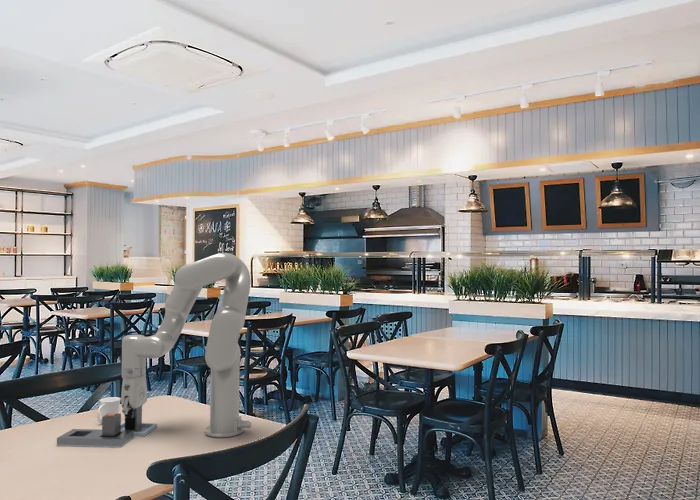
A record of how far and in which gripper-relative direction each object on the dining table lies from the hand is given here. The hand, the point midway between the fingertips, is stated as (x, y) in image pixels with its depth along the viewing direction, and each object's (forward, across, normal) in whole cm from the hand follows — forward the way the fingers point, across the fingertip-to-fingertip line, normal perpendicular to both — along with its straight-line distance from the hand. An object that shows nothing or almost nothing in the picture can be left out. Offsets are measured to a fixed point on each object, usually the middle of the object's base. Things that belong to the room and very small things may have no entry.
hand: (133, 426), depth 184 cm
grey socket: (+2, -11, +7) cm, 13 cm away
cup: (+2, +10, +14) cm, 17 cm away
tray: (+2, 0, 0) cm, 2 cm away
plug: (+1, 0, 0) cm, 1 cm away
